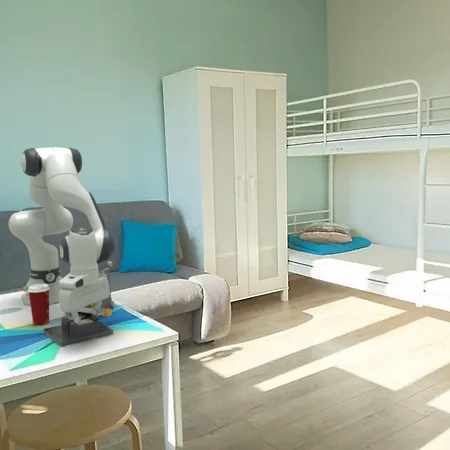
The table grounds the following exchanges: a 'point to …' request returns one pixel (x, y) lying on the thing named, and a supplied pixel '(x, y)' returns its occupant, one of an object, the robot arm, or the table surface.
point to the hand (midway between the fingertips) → (87, 317)
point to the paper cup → (39, 303)
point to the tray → (71, 339)
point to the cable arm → (103, 312)
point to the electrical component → (108, 303)
